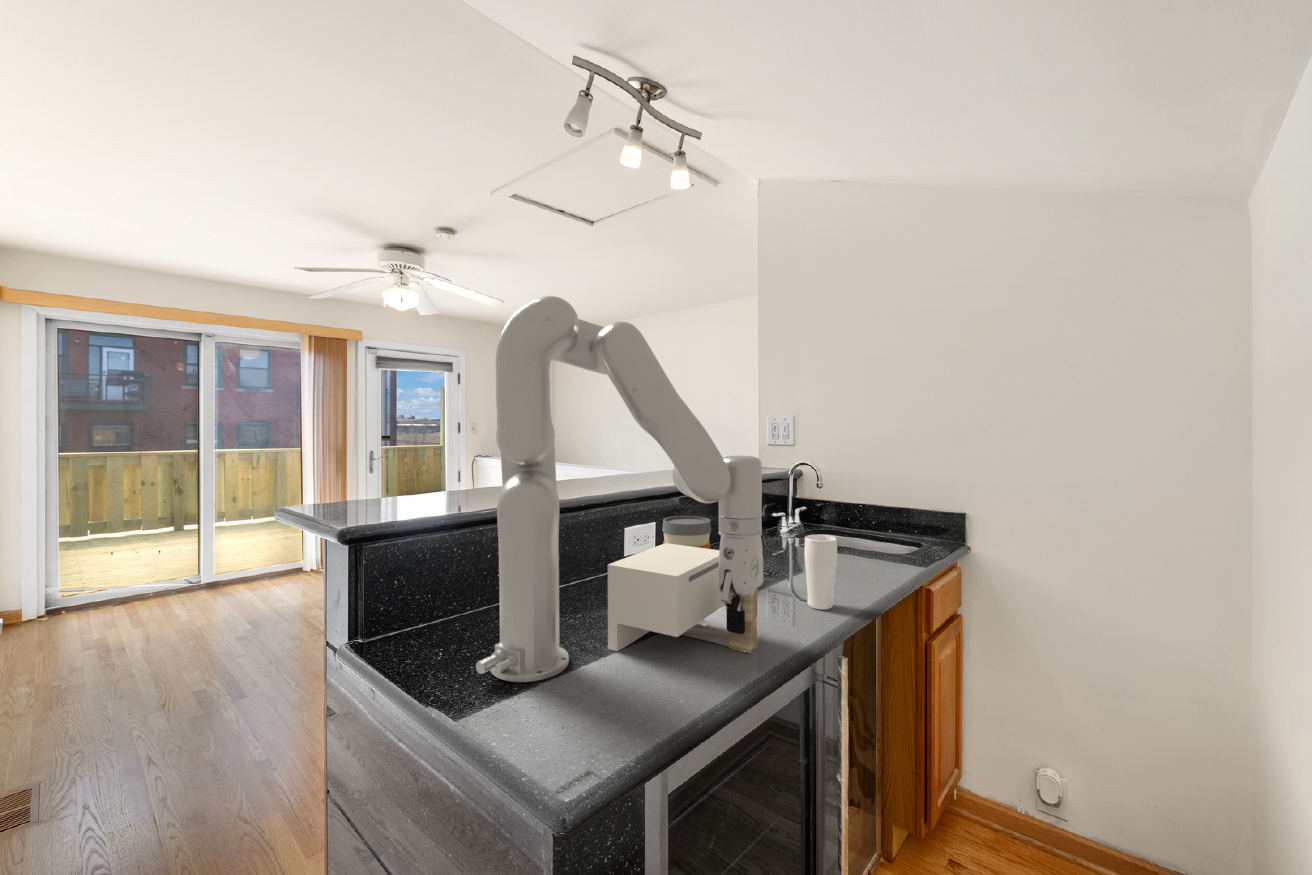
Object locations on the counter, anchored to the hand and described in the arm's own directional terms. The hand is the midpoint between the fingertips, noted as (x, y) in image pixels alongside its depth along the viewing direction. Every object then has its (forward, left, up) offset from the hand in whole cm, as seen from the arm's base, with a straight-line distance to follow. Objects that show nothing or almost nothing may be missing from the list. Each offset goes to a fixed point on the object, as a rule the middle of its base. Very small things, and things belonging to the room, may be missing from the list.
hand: (739, 628), depth 98 cm
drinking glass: (+29, -6, -4) cm, 30 cm away
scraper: (0, +6, -3) cm, 7 cm away
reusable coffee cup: (+33, +29, -4) cm, 44 cm away
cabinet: (-3, +13, -3) cm, 13 cm away
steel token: (+3, +11, -3) cm, 12 cm away
